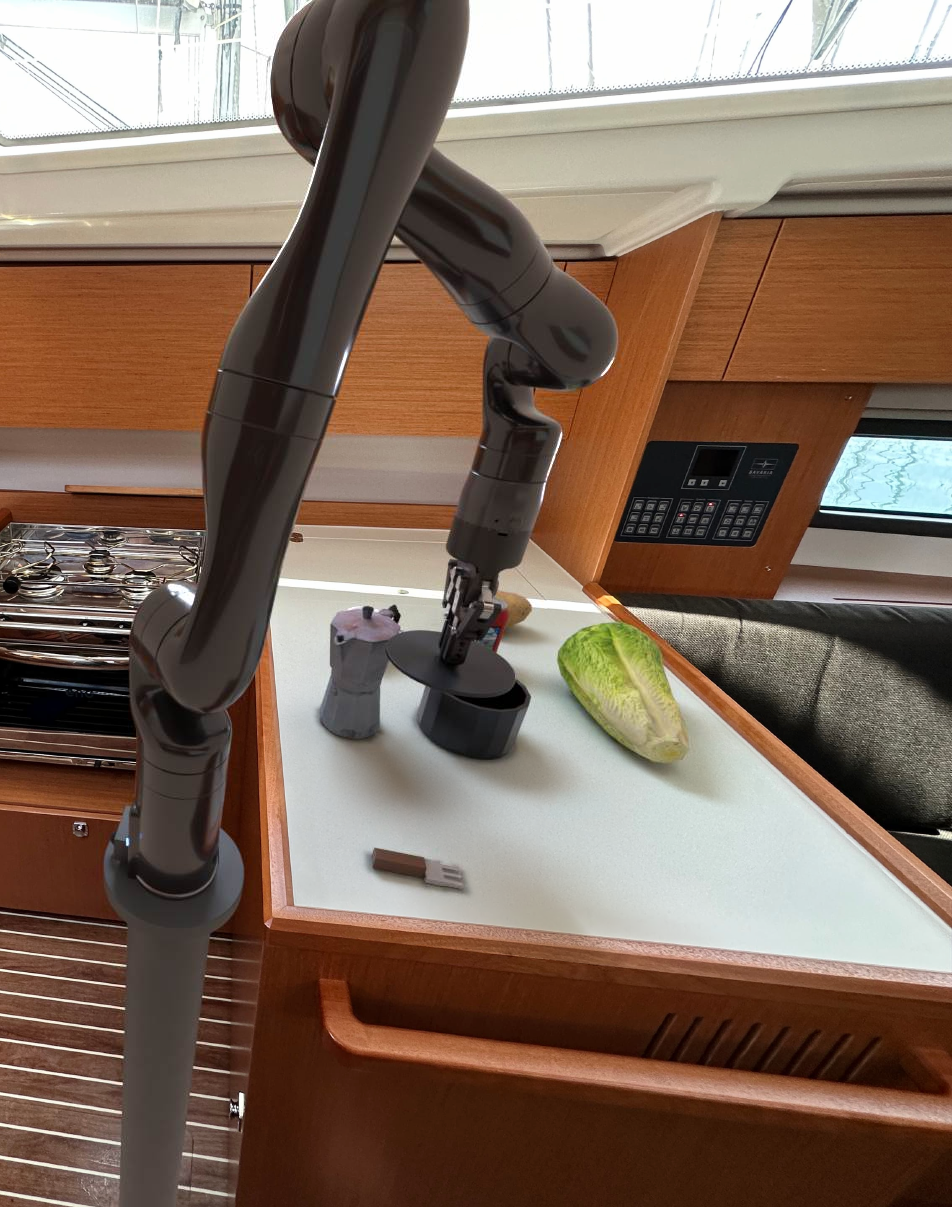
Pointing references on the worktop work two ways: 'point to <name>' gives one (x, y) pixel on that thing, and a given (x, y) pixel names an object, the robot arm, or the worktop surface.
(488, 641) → the beverage can
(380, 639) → the moka pot
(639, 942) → the worktop surface
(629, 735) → the lettuce
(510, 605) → the potato
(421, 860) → the fork
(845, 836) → the worktop surface
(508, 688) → the pot lid
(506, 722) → the pot
